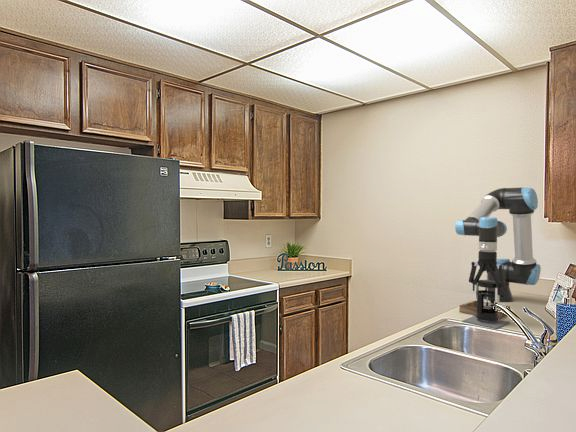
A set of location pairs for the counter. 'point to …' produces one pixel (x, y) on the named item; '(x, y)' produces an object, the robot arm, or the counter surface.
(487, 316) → the french press
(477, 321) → the mat
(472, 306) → the cradle
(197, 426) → the counter surface
